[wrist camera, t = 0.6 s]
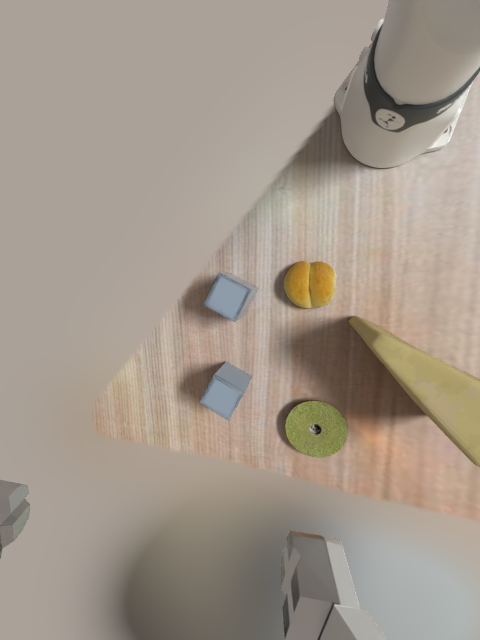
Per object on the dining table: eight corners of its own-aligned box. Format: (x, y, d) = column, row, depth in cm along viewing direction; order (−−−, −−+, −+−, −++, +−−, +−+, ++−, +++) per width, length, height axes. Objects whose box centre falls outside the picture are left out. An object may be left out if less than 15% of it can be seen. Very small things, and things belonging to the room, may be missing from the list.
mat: (275, 410, 55) (274, 415, 53) (328, 387, 52) (329, 391, 50) (302, 459, 56) (303, 465, 54) (356, 439, 53) (359, 445, 51)
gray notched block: (231, 273, 53) (219, 272, 45) (258, 288, 52) (251, 289, 45) (217, 301, 54) (203, 304, 47) (244, 315, 54) (234, 322, 46)
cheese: (331, 338, 51) (343, 362, 37) (369, 296, 49) (398, 304, 34) (431, 417, 49) (485, 475, 35) (475, 378, 47) (553, 422, 33)
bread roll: (285, 261, 51) (283, 260, 47) (336, 262, 49) (339, 261, 45) (283, 306, 52) (281, 309, 48) (333, 309, 50) (335, 311, 46)
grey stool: (225, 361, 56) (213, 374, 48) (252, 376, 55) (244, 392, 48) (213, 385, 57) (199, 402, 50) (238, 400, 57) (228, 420, 49)
